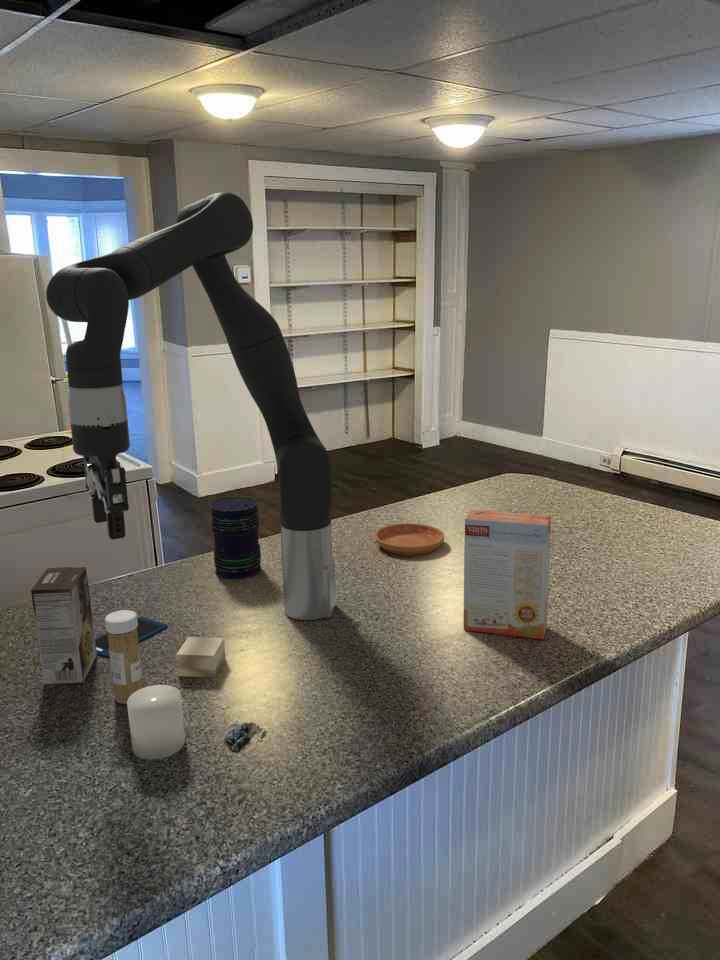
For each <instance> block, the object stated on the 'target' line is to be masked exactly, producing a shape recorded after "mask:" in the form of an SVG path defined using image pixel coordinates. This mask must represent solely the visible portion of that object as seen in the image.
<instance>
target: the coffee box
mask: <svg viewBox="0 0 720 960" xmlns="http://www.w3.org/2000/svg"><path fill="white" fill-rule="evenodd" d="M89 589H90V588H89V581H88V574H87V567H86V566H80V567H79V566H78V567H71V566H68V567H66V566H63V567H49V568H46V569H45V570H44V572H43V574H41V576H40V577H39V579H38V580H37V582H36V583H35V584H34V586H33V587H32V588H31V590H30V593H31V600H32V609H33V614H34V620H35V621H34V623H35V627H36V635H37V641H38V642H37V643H38V650H39V656H40V665H41V672H42V678H43V684H44V685H56V684H58V685H59V684H75V683H76V684H77V683H84V682H85V680H86V679H87V676H88V674H89V672H90V669H91V667H92V666H93V665H94V661H95V660H96V658H97V656H98V655H97V651H96V643H95V639H96V637H95V631H94V622H93V621H94V620H93V613H92V605H91V599H90V598H91V596H90V590H89Z"/></svg>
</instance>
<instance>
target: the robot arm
mask: <svg viewBox="0 0 720 960" xmlns="http://www.w3.org/2000/svg"><path fill="white" fill-rule="evenodd" d="M253 223H254V221H253V216H252V214H251V211H250V209H249V207H248V205H247V204H246V203H245V201H244V200H243V199H242V197H240V196H239V195H237V194H235V193H232V192H227V191H222V192H221V191H220V192H215V193H213V194H211V195H208V196H206V197H204V198H201V199H200V200H197V201H194V202H192V203H190V204H187V205H185V206H184V207H182V208H181V209H180V211H179V212H178V214H177V218H176V223H175V224H173V225H171V226H168V227H165V228H162V229H160V230H157V231H155V232H151V233H150V234H147V235H144V236H142V237H140V238H138V239H134V240H133V241H130V242H128V243H127V244H125V245H122V246H121V247H119V248H117V249H115V250H113V251H112V252H110V253H107V254H104V255H100V256H97V257H93V258H89V259H85V260H82V261H78V262H76V263H72V264H69V265H67V266H65V267H63V268H61V269H59V270H58V271H56V273H54V275H52V277H51V278H50V280H49V282H48V284H47V287H46V290H45V291H46V292H45V293H46V294H45V296H46V297H45V298H46V301H47V305H48V307H49V308H50V310H51V312H53V314H54V315H56V316H57V317H58V318H60V319H62V320H64V321H67V322H73V323H86V329H85V334H84V339H81V340H78V341H74V342H73V343H70V344H69V345H68V346H67V348H66V351H65V363H66V370H67V371H66V373H67V381H68V382H67V383H68V412H69V413H68V414H69V419H70V420H69V421H70V422H69V423H70V432H71V440H72V441H71V442H72V450H73V452H74V454H76V455H78V456H82V458H83V465H84V466H83V467H84V476H85V478H84V479H85V489H86V491H88V495H89V497H90V498H91V507H92V514H93V515H92V516H93V517H92V518H93V521H94V522H95V523H96V524H99V523H105V522H106V526H107V527H106V528H107V537H108V538H109V539H110V540H112V541H113V540H118V539H124V538H125V537H126V524H125V522H126V521H125V514H124V513H125V512H126V511H129V509H130V508H129V507H130V505H129V497H128V487H127V478H126V469H125V468H124V467H123V466H121V464H118V461H117V460H118V459H117V455H119V454H123V453H125V452H128V450H129V449H130V447H131V446H130V444H131V443H130V433H129V430H130V429H129V421H128V418H129V417H128V408H127V399H126V396H125V395H126V393H125V390H124V384H123V374H122V373H123V372H122V370H123V369H122V360H121V352H122V347H123V342H124V337H125V330H126V325H127V319H128V314H129V307H130V304H129V303H130V300H136V299H139V298H141V297H143V296H144V295H146V294H148V293H150V292H151V291H153V290H155V289H157V288H159V287H160V286H162V285H163V284H165V283H166V282H169V280H172V278H174V277H176V276H179V274H181V273H182V272H184V271H186V270H187V269H189V268H190V267H192V268H193V270H194V271H195V273H196V275H197V278H198V279H199V281H200V284H201V285H202V287H203V289H204V291H205V293H206V295H207V296H208V299H209V302H210V303H211V306H212V308H213V310H214V313H215V315H216V318H217V320H218V322H219V325H220V327H221V329H222V332H223V334H224V336H225V339H226V342H227V345H228V348H229V350H230V352H231V355H232V358H233V359H234V363H235V366H236V368H237V370H238V372H239V374H240V376H241V379H242V381H243V383H244V385H245V386H246V389H247V390H248V392H249V394H250V396H251V398H252V399H253V401H254V403H255V404H256V406H257V408H258V409H259V411H260V413H261V415H262V417H263V419H264V422H265V425H266V428H267V431H268V435H269V437H270V440H271V444H272V449H273V452H274V456H275V461H276V465H277V469H278V474H279V491H280V493H279V494H280V495H279V496H280V510H279V517H280V518H279V519H280V520H279V521H280V541H281V543H280V544H281V558H282V559H281V563H282V564H281V565H282V585H283V604H284V605H283V606H284V613H285V615H286V616H288V617H289V618H292V619H294V620H295V619H296V620H300V621H312V620H314V621H315V620H319V619H323V618H327V619H329V618H331V617H332V616H333V612H334V610H335V607H336V605H337V602H336V599H337V597H336V596H337V595H336V570H335V569H336V563H335V558H334V557H333V540H332V511H333V506H334V505H333V502H334V501H333V497H334V496H333V463H332V459H331V455H330V453H329V452H328V450H327V448H326V447H325V446H324V443H323V442H322V441H321V439H320V438H319V437H318V434H317V433H316V431H315V429H314V427H313V426H312V422H311V421H310V419H309V417H308V415H307V413H306V410H305V408H304V406H303V403H302V400H301V397H300V393H299V387H298V381H297V377H296V373H295V372H296V371H295V368H294V365H293V361H292V357H291V354H290V351H289V349H288V346H287V344H286V341H285V339H284V335H283V333H282V329H281V327H280V325H279V323H278V322H277V321H276V319H275V318H274V316H273V315H272V314H271V313H270V312H269V311H268V310H266V308H265V307H264V306H263V305H261V303H259V301H257V300H256V299H255V298H254V297H253V296H251V295H250V294H249V293H248V292H247V291H246V290H245V289H244V288H243V287H242V286H241V284H240V283H239V281H238V280H237V278H236V277H235V275H234V273H233V271H232V269H231V266H230V264H229V262H228V259H227V258H226V257H227V256H226V255H229V254H231V253H233V252H235V251H238V250H240V249H241V248H243V247H244V246H246V245H247V243H248V242H249V241H251V237H252V236H253V231H254V224H253ZM114 498H116V499H117V502H115V503H114Z"/></svg>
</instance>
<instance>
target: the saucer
mask: <svg viewBox="0 0 720 960" xmlns="http://www.w3.org/2000/svg"><path fill="white" fill-rule="evenodd" d="M374 541H375V542H376V543H377V544H378V546H379V547H381V548H382V549H383V550H385V551H386V552H388V553H391V554H395V555H400V556H418V555H419V556H420V555H424V554H428V553H431V552H434V551H435V550H436V549H438V548H439V547H440V546H441V545H442V544H444V541H445V533H444V532H443V531H442V530H441V529H438V528H436V527H434V526H431V525H427V524H420V523H396V524H390V525H386V526H383V527H380V528H379V529H377V530H375V533H374Z"/></svg>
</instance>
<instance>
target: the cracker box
mask: <svg viewBox="0 0 720 960" xmlns="http://www.w3.org/2000/svg"><path fill="white" fill-rule="evenodd" d="M551 524H552V516H551V515H548V514H547V515H546V514H531V513H520V512H518V513H516V512H504V511H493V510H480V509H479V510H478V509H471V510H470V512H469V514H468V515H467V516H466V518H464V554H463V556H464V559H463V560H464V561H463V562H464V563H463V565H464V566H463V567H464V568H463V630H464V631H469V632H470V631H471V632H478V633H479V632H481V633H485V634H486V633H487V634H495V635H503V636H510V637H511V636H512V637H520V638H527V639H535V640H544V638H545V634H546V630H547V626H548V607H549V606H548V605H549V583H550V581H549V580H550V556H551V555H550V554H551V532H552V531H551V528H552V527H551V526H552V525H551Z"/></svg>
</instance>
